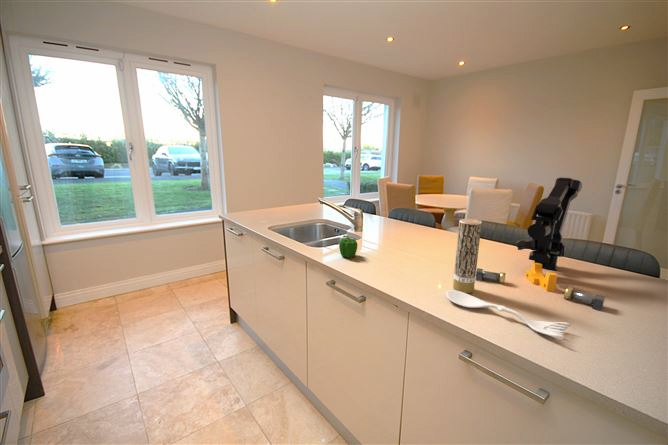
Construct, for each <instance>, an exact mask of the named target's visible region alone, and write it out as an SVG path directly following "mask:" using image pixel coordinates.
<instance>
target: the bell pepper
mask: <svg viewBox="0 0 668 445" xmlns="http://www.w3.org/2000/svg"><path fill="white" fill-rule="evenodd" d="M342 237H343V238H342V239H340V242H339V244H338V245H339V246H338V247H339V253H340V255H341V257H343V258H348V259H351V258H354V257H355V256H356V254H357V250H358V243H357V240H356V238H353V239H352V238H350V237H349V236H348V235H342ZM345 238H346V239H345Z"/></svg>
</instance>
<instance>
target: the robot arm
mask: <svg viewBox="0 0 668 445" xmlns="http://www.w3.org/2000/svg"><path fill="white" fill-rule="evenodd" d="M582 188H583V182H582V181H580V180H579V179H575V178H571V177H557V178H556V179H555V182H554V186H553V188H552V189H551V191H550V193H549V194H548V196H547V197H546V198H545V197H544V198H542V199H541V200H540V201H539V202H538V204H536V205H535V208H534V210H533V213H532V215H531V219H530V220H531V221H534V223H532V224H530V226H528V228H527V235H528V236H529V237H530V238H525V239H518V240H517V241H516V242H515V244H516V247H517V251H522V250H527V249H528V250H529V249H530V250H531V251H530V252H529V256H528V260H530V261H533V263H541V264H542V269H546V270H550V271H551V270H552V271H555V272H556V271H558V265H557V263H558V258H561V257H565V255H566V247H565V243H564V237H563V236H562V230H563V229H564V228H563V227H564V224H565V220H566V217H567V214H568V212H569V208H570V205H571V203H572V201H573V200H575V199H576V198H577V197H578V194H580V192H581V191H582Z"/></svg>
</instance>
